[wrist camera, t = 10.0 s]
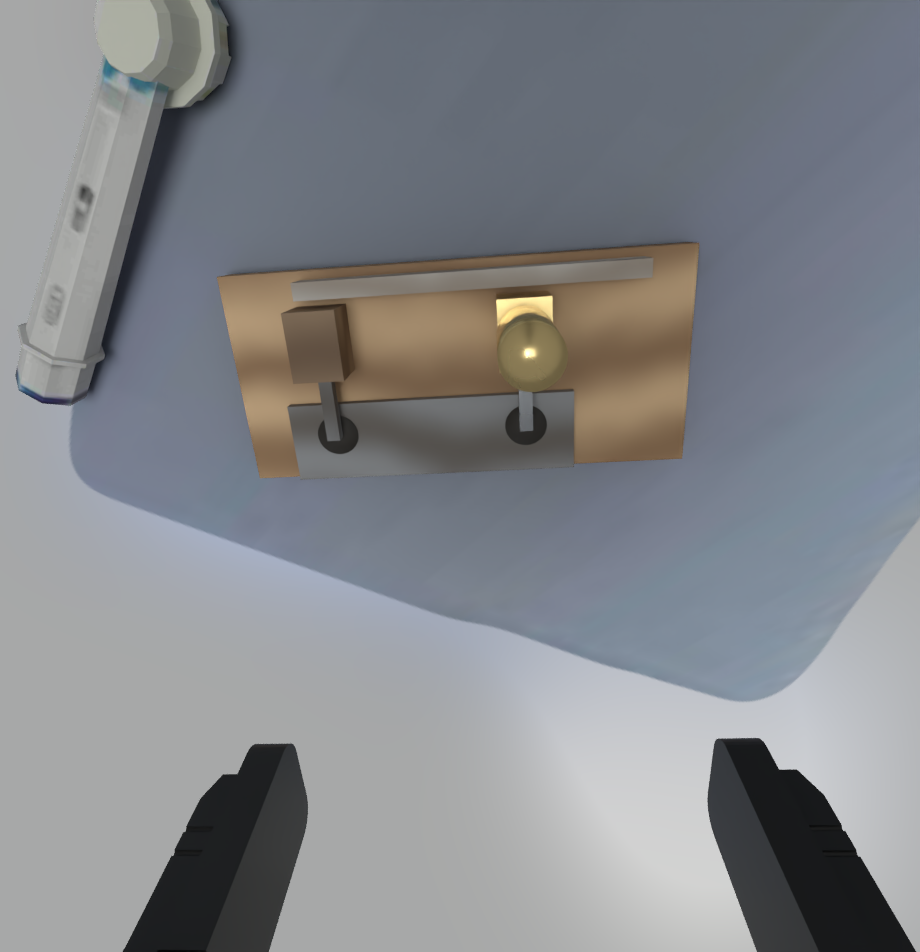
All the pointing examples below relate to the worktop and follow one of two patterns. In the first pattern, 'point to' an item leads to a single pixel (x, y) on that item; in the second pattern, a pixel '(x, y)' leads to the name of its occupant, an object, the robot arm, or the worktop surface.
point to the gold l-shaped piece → (528, 347)
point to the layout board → (471, 363)
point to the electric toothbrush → (113, 179)
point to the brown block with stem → (320, 354)
